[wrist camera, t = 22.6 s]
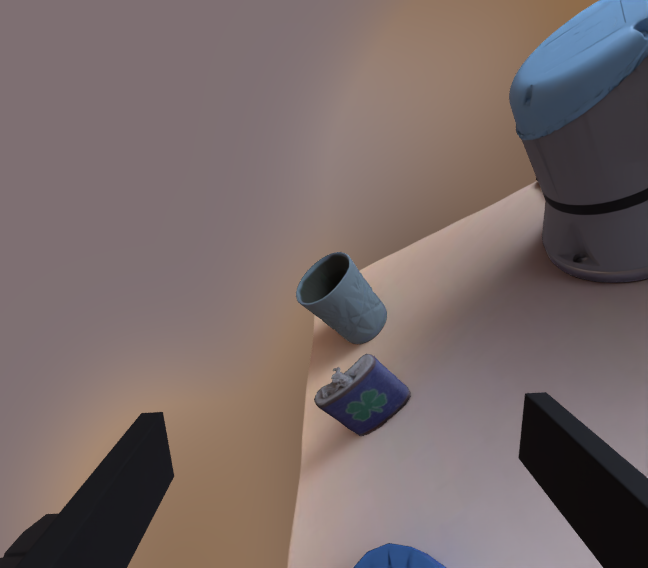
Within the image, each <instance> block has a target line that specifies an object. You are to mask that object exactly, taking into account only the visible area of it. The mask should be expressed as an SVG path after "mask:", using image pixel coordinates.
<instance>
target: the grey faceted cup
mask: <svg viewBox="0 0 648 568" xmlns="http://www.w3.org/2000/svg"><path fill="white" fill-rule="evenodd" d="M296 297H297V301H298V302H299V303H300V304H301V305H302V306H304V307H305V308H306V309H308V310H309V311H311V312H312V313H313V314H314V315H316V316H317V317H319V318H320V319H322V321H323V322H325V323H326V324H327V325H329V326H330V327H331V328H332V329H335V330H336V331H337V332H338V333H339V334H340V335H341V336H342V337H344V338H345V339H346V340H347V341H349V342H351V343H354V344H362V343H365V342H367V341H370V340H371V339H373V338H374V337H375V336H376V335H377V334H378V333H379V332H380V331H381V330H382V328H383V326H384V324H385V322H386V319H387V311H386V308H385V306H384V304H383V303H382V302H381V300H380V299H379V298H378V296H377V295H376V294H375V293H374V292H373V291H372V288H371V287H370V285H369V284H368V283H367V281H366V280H365V279H364V278H363V276H362V274H361V273H360V272H359V270H358V269H357V267H356V266H355V264H354V263H353V261H352V260H351V259H350V257H349V256H348V255H347V254H345V253H342V252H337V253H332V254H329V255H327V256H325V257H323V258H322V259H320V260H319V261H318V262H316V263H315V264H314V265H313V266H312V267H311V268H310V269H309V270H308V271H307V272H306V273H305V275H304V276H303V277H302V279H301V281H300V283H299V285H298V288H297V292H296Z"/></svg>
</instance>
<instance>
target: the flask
mask: <svg viewBox="0 0 648 568" xmlns="http://www.w3.org/2000/svg"><path fill="white" fill-rule="evenodd" d="M333 371H336V373H335V374H333V375H332V378H331V379H333V380H332V383H330V384H328V385H326V386H323V387H322V388H321V389H320V390H319V391H318V392H317V394H316V396H315V399H314V400H315V403H316V405H317V406H318V407H319V408H320V409H322V410H323V411H325V412H326V413H328V414H329V415H330V416H332V417H333V418H335V419H336V420H338V421H339V422H340V423H342V424H343V425H344V426H345V427H347V428H348V429H350V430H351V431H353V432H354V433H356V434H358V435H359V436H364V435H367V434H369V433H371V432H372V431H374V430H376V429H377V428H380V427H381V426H382V425H383V424H384V423H386V422H387V420H388V419H390V418H392V417H393V415H395V414H396V413H397V412H398V411H399V410H400V409H401V408H402V407H403V406H405V405H406V403H407V401H408V400H409V398H410V397H411V396H410V391H409V389H408V387H407V386H406V385H405V384H403V383H402V382H401V381H400V380H399V379H398V378H397V377H396V376H395V375H394V374H392V373H391V372H390V371H389V370H388V369H387V368H386V367H385V366H383V365H382V364H381V363H380V362H379V361H378V360H377V359H376V358H375V356H373V355H370V354H365V355H363V356H362V357H361V358H360V359H359V360H358V361H357V362H356V363H355V364H354V365H353V366H352V367H351V368H350V369H348V370H347V371H346V372H345V373H344V374H343V373H341V372H340V368H339V367H338V368H334V369H333Z"/></svg>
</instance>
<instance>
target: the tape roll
mask: <svg viewBox="0 0 648 568" xmlns="http://www.w3.org/2000/svg"><path fill="white" fill-rule="evenodd" d="M354 568H446V567H445V566H443V565H442V564H441V563H439V562H438V561H436V560H435V559H434V558H432V557H431V556H429V555H428V554H426V553H424V552H422V551H420V550H417V549H415V548H413V547H409V546H403V545H397V544H390V543H389V544H385V545H383V546H380V547H378V548H376V549H373V550H371V551H368V552H367V553H366V554H365V555H364V556H363V557H362V558H361V560H360V561H359V562H358V563H357V564H356V565H355V566H354Z"/></svg>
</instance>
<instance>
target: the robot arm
mask: <svg viewBox="0 0 648 568" xmlns="http://www.w3.org/2000/svg"><path fill="white" fill-rule="evenodd" d="M509 99H510V105H511V108H512V112H513V115H514V119H515V122H516V132H517V134H518V135H519V137H520V138H521V139H522V142H523V144H524V147H525V149H526V152H527V154H528V157H529V159H530V162H531V165H532V167H533V169H534V172H535V174H536V180H537V181H538V182H539V185H540V187H541V190H542V192H543V195H544V197H545V200H546V202H545V212H544V221H543V231H542V240H543V244H544V246H545V249H546V251H547V253H548V256H549V258H550V259H551V261H552V262H553V263H554V264H555V265H556V266H557V267H558V268H560V269H561V270H562V271H564V272H566V273H568V274H570V275H572V276H575V277H578V278H581V279H585V280H590V281H596V282H610V283H613V282H631V281H638V280H643V279H648V0H600V1H598V2H596V3H594V4H593V5H591V6H590V7H588V8H587V9H585V10H583V11H582V12H580V13H579V14H578V15H576V16H575V17H573V18H572V19H571V20H569V21H568V22H566V23H565V24H564V25H563V26H561V27H560V28H559V29H558V30H556V31H555V32H554V33H553V34H552V35H551V36H549V37H548V38H547V39H546V40H545V41H544V42H543V43H542V44H540V45H539V47H537V49H536V50H535V51H534V52H533V53H532V54H531V55H530V56H529V57H528V58H527V60H526V61H525V62H524V63H523V65H522V66H521V68H520V69H519V70H518V72H517V74H516V76H515V77H514V80H513V82H512V85H511V88H510V94H509ZM519 459H520V461H521V462H522V463H523V465H524V466H525V467H526V468H527V470H528V471H529V472H530V474H531V475H532V476H533V477H534V479H535V480H536V481H537V483H538V484H539V485H540V486H541V488H542V489H543V490H544V492H545V493H546V494H547V495H548V497H549V498H550V499H551V501H552V502H553V503H554V505H555V506H556V507H557V508H558V510H559V511H560V512H561V514H562V515H563V516H564V517H565V519H566V520H567V521H568V523H569V524H570V525H571V526H572V528H573V529H574V530H575V532H576V533H577V534H578V536H579V537H580V538H581V539H582V541H583V542H584V543H585V545H586V546H587V547H588V548H589V550H590V551H591V552H592V554H593V555H594V556H595V557H596V559H597V560H598V561H599V563H600V564H601V565H602V566H603V568H648V478H647V477H645V476H644V475H643V474H642V473H641V472H640V471H638V470H637V469H636V468H635V467H634V466H632V465H631V464H630V463H629V462H628V461H627V460H625V459H624V458H623V457H622V456H621V455H619V454H618V453H617V452H616V451H615V450H614V449H612V448H611V447H610V446H609V445H608V444H606V443H605V442H604V441H603V440H602V439H601V438H599V437H598V436H597V435H596V434H595V433H594V432H592V431H591V430H590V429H589V428H588V427H586V426H585V425H584V424H583V423H582V422H581V421H579V420H578V419H577V418H576V417H575V416H573V415H572V414H571V413H570V412H569V411H568V410H566V409H565V408H564V407H563V406H562V405H560V404H559V403H558V402H557V401H556V400H555V399H553V398H552V397H551V396H550V395H549V394H547V393H546V392H545V393H525V400H524V410H523V420H522V430H521V439H520V449H519ZM173 478H174V473H173V468H172V461H171V455H170V450H169V445H168V438H167V433H166V427H165V421H164V416H163V412H155V413H141V414H140V416H139V417H138V418H137V419H136V421H135V422H134V423H133V424H132V425H131V427H130V428H129V429H128V430H127V431H126V433H125V434H124V435H123V436H122V438H121V439H120V440H119V441H118V442H117V444H116V445H115V446H114V447H113V449H112V450H111V451H110V452H109V453H108V455H107V456H106V457H105V458H104V459H103V461H102V462H101V463H100V464H99V466H98V467H97V468H96V469H95V471H94V472H93V473H92V474H91V475H90V476H89V478H88V479H87V480H86V481H85V483H84V484H83V485H82V486H81V488H80V489H79V490H78V491H77V492H76V494H75V495H74V496H73V497H72V498H71V500H70V501H69V502H68V503H67V504H66V506H65V507H64V508H63V509H62V511H61V512H60V513H59V514H46V515H45V516H43V517H42V518H41V519H40V520H38V521H37V522H36V523H34V524H33V525H32V526H31V527H29V528H28V529H27V530H25V531H24V532H23V533H22V534H21V535H20V536H19V538H18V539H17V540H16V541H15V542H14V543H13V544H12V546H11V547H10V548H9V549H8V550H7V551H6V552H5V554H4V557H3V558H0V568H127V567H128V564H129V563H130V561H131V559H132V557H133V555H134V553H135V551H136V549H137V547H138V545H139V543H140V541H141V539H142V538H143V536H144V534H145V532H146V530H147V528H148V526H149V524H150V522H151V520H152V518H153V516H154V514H155V512H156V510H157V509H158V506H159V505H160V503H161V501H162V499H163V497H164V495H165V493H166V491H167V489H168V487H169V485H170V483H171V481H172V480H173Z"/></svg>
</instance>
